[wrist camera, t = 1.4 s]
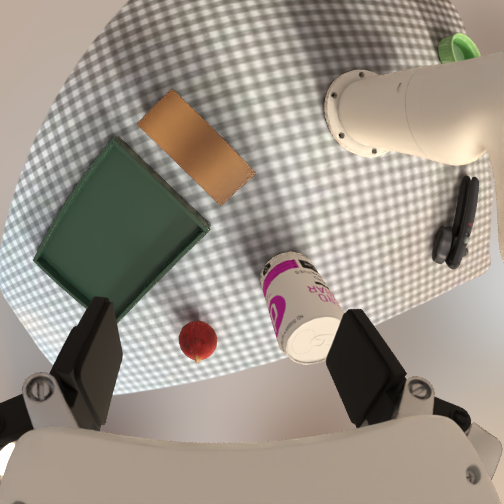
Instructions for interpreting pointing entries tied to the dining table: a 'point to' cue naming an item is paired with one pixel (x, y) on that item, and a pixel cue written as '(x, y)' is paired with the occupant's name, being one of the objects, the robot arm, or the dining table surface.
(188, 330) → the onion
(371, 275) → the dining table surface
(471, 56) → the ramekin
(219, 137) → the tan wooden block
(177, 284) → the dining table surface
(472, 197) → the can opener
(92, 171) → the tray
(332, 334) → the supplement can
